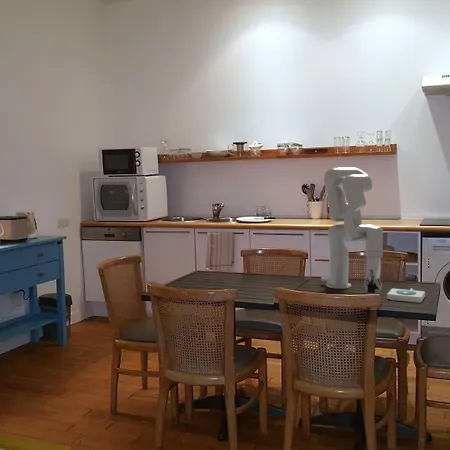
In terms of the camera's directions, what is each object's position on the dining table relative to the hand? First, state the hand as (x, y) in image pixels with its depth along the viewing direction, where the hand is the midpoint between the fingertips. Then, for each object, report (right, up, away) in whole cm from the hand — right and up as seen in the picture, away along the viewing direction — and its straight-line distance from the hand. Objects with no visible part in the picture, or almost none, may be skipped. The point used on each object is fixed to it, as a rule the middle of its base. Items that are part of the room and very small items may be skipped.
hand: (373, 290), depth 265 cm
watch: (0, -5, +1) cm, 5 cm away
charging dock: (+19, -3, +10) cm, 22 cm away
